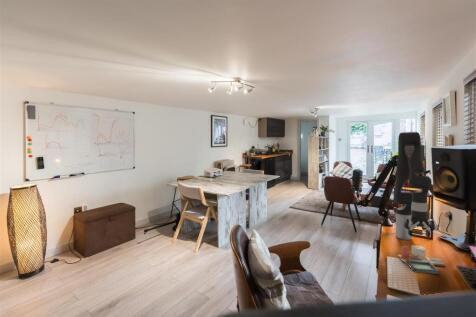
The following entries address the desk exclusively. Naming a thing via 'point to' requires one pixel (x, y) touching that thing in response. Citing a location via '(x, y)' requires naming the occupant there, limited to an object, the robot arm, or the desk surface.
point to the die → (418, 251)
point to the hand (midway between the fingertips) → (418, 236)
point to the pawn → (405, 252)
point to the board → (427, 259)
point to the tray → (422, 267)
